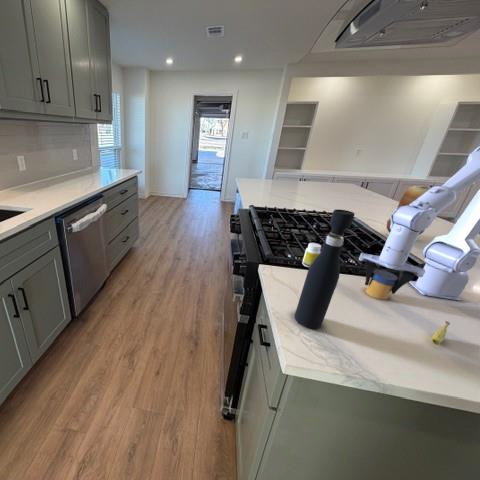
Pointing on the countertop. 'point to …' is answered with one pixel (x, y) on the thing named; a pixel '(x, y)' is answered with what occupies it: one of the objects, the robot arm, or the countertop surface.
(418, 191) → the butternut squash
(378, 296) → the jam jar
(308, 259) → the supplement bottle
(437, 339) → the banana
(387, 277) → the jar lid
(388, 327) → the countertop surface
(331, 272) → the black water bottle
